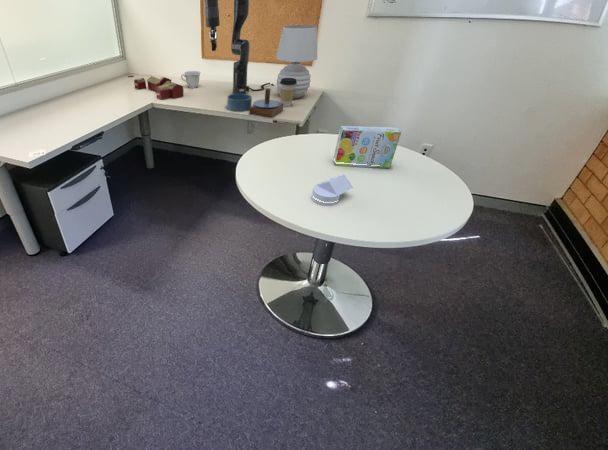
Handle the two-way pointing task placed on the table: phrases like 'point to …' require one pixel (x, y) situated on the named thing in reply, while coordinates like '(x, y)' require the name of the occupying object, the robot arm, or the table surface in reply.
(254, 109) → the board
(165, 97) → the toy houses
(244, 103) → the bowl
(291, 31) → the table lamp
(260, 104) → the lid
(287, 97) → the coffee cup
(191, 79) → the teacup
